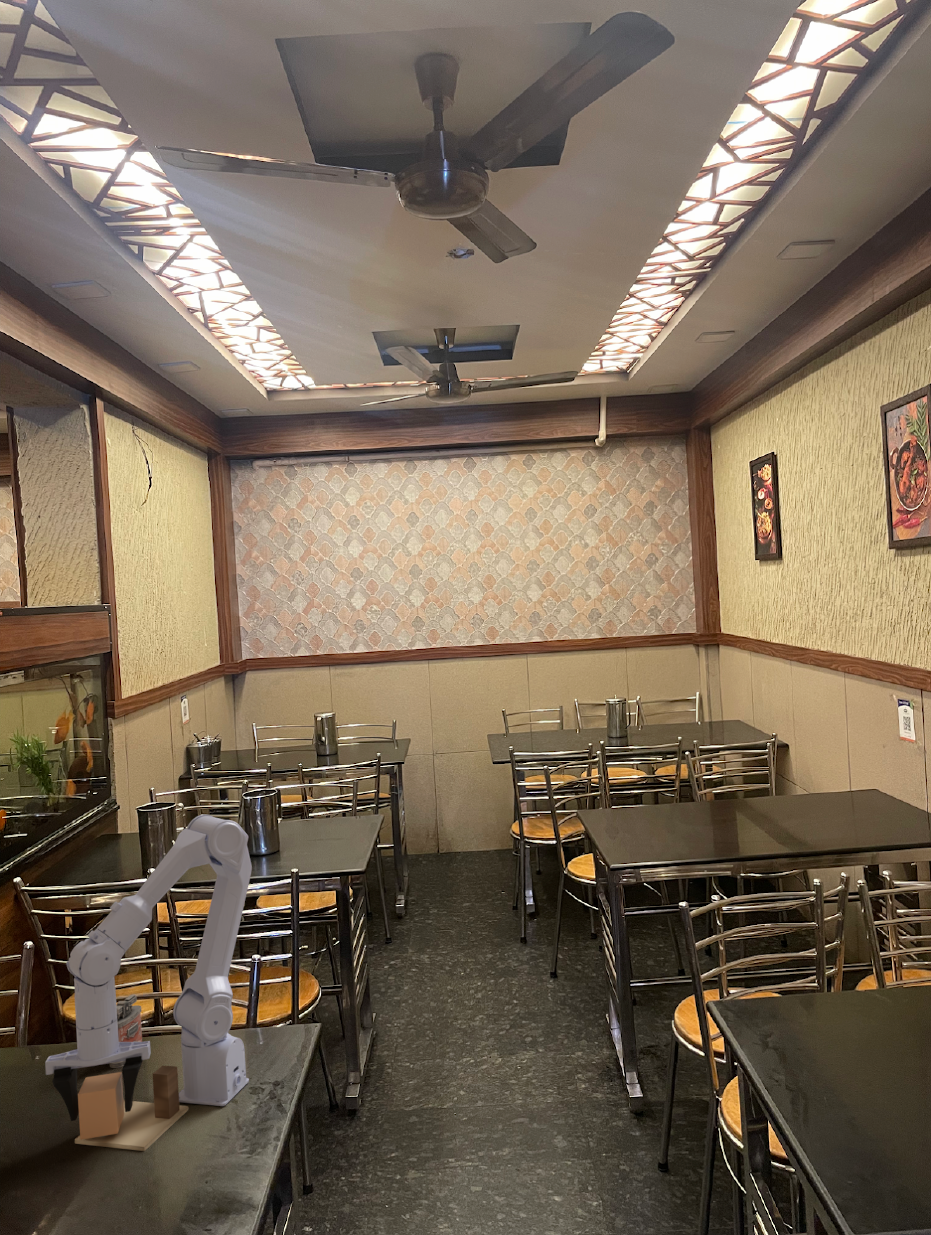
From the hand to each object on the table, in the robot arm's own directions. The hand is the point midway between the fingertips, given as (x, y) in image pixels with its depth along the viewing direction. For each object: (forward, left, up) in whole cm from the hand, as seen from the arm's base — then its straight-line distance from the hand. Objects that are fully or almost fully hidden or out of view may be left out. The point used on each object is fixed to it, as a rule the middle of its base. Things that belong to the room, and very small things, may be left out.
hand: (102, 1112), depth 132 cm
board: (-3, -3, -3) cm, 5 cm away
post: (-7, -6, -3) cm, 10 cm away
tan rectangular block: (0, 0, -2) cm, 2 cm away
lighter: (+13, -23, -4) cm, 27 cm away
